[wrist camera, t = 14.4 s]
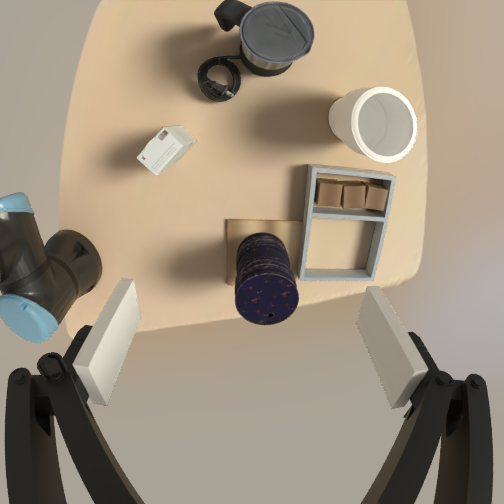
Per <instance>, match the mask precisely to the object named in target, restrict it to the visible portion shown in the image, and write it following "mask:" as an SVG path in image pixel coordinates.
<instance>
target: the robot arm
mask: <svg viewBox="0 0 504 504" xmlns="http://www.w3.org/2000/svg"><path fill="white" fill-rule="evenodd" d="M101 275H102V263H101V259H100V256H99V254H98V252H97V250H96V248H95V247H94V245H93V244H92V243H91V242H90V241H89V240H88V239H87V238H86V237H85V236H83V235H82V234H80V233H78V232H75V231H72V230H62V231H59V232H57V233H56V234H55V235H53V236H52V237H51V238H50V239H49V240H48V242H47V243H46V245H45V247H44V244H43V241H42V239H41V236H40V233H39V230H38V227H37V224H36V221H35V218H34V212H33V210H32V208H31V206H30V203H29V200H28V197H27V196H26V195H25V194H24V193H21V192H19V193H14V194H11V195H8V196H5V197H2V198H0V291H1V293H2V296H0V316H1V318H2V319H3V321H4V322H5V324H6V325H7V326H8V327H9V328H10V329H11V330H12V331H13V332H14V333H16V334H17V335H19V336H20V337H22V338H24V339H25V340H28V341H31V342H35V343H41V342H45V341H46V340H48V339H49V338H50V336H51V335H52V334H53V333H54V331H56V330H57V328H58V325H59V324H60V323H61V321H62V320H63V318H64V317H65V315H66V313H67V312H68V310H69V309H70V308H71V306H72V305H73V303H74V302H75V300H76V299H77V298H79V297H81V296H83V295H85V294H86V293H88V292H90V291H91V290H92V289H93V288H94V287H95V286H96V285H97V283H98V282H99V280H100V278H101ZM140 319H141V315H140V310H139V305H138V300H137V294H136V289H135V283H134V279H123V278H121V280H120V282H119V283H118V285H117V286H116V288H115V290H114V291H113V293H112V295H111V296H110V298H109V300H108V301H107V303H106V305H105V306H104V308H103V310H102V311H101V313H100V315H99V317H98V318H97V320H96V322H95V324H94V325H93V326H89V325H85V326H84V327H82V328H81V329H80V330H79V331H78V332H77V334H76V336H75V337H74V340H73V341H72V343H71V346H69V348H68V350H67V352H66V353H65V355H64V357H63V358H62V356H61V355H59V354H58V353H54V352H51V353H47V354H45V355H43V356H42V357H41V358H40V359H39V361H38V363H37V369H38V370H39V372H40V374H41V375H31V373H30V372H29V370H28V369H26V368H18V369H15V370H14V371H13V372H12V373H11V374H10V376H9V379H8V388H7V399H6V414H5V462H6V463H5V464H6V478H7V488H8V496H9V504H67V503H66V499H65V494H64V489H63V484H62V479H61V474H60V468H59V462H58V455H57V447H56V439H55V428H54V416H56V419H57V422H58V425H59V427H60V430H61V433H62V435H63V438H64V440H65V443H66V445H67V448H68V450H69V453H70V455H71V457H72V460H73V462H74V464H75V465H76V468H77V470H78V472H79V474H80V477H81V478H82V481H83V483H84V485H85V486H86V488H87V490H88V492H89V494H90V496H91V498H92V500H93V501H94V503H95V504H145V503H144V502H143V501H142V499H141V498H140V496H139V495H138V493H137V492H136V490H135V489H134V487H133V486H132V485H131V483H130V481H129V480H128V478H127V477H126V475H125V473H124V472H123V470H122V468H121V467H120V465H119V463H118V462H117V460H116V459H115V457H114V455H113V453H112V452H111V450H110V448H109V446H108V444H107V442H106V440H105V439H104V437H103V435H102V433H101V431H100V429H99V427H98V425H97V423H96V421H95V419H94V417H93V415H92V412H91V410H90V408H89V406H88V404H87V400H88V398H89V397H90V399H91V400H92V402H93V403H95V404H100V405H104V406H108V403H109V400H110V397H111V394H112V392H113V389H114V386H115V383H116V380H117V378H118V375H119V372H120V370H121V367H122V364H123V361H124V359H125V357H126V354H127V351H128V349H129V346H130V344H131V341H132V339H133V336H134V334H135V331H136V329H137V327H138V324H139V322H140ZM356 325H357V327H358V329H359V331H360V333H361V336H362V338H363V340H364V343H365V345H366V347H367V349H368V352H369V354H370V357H371V359H372V362H373V364H374V366H375V369H376V371H377V374H378V376H379V378H380V381H381V383H382V386H383V388H384V391H385V393H386V396H387V399H388V401H389V404H390V406H391V409H393V408H399V407H404V406H405V405H406V403H407V402H408V400H409V399H410V401H411V403H412V406H411V407H410V408H409V410H408V411H407V413H406V414H405V415H404V418H405V417H406V418H405V421H404V423H403V425H402V427H401V430H400V432H399V434H398V436H397V438H396V441H395V443H394V445H393V447H392V449H391V451H390V453H389V455H388V457H387V459H386V461H385V463H384V464H383V466H382V468H381V470H380V472H379V474H378V475H377V477H376V479H375V481H374V483H373V484H372V486H371V488H370V489H369V491H368V493H367V494H366V496H365V498H364V499H363V501H362V502H361V504H414V502H415V501H416V498H417V496H418V494H419V492H420V490H421V487H422V485H423V483H424V480H425V478H426V475H427V473H428V470H429V468H430V465H431V463H432V460H433V457H434V454H435V451H436V449H437V446H438V443H439V439H440V436H441V449H440V462H439V471H438V479H437V486H436V493H435V499H434V504H491V502H492V487H493V444H492V428H491V417H490V407H489V400H488V392H487V387H486V382H485V381H484V379H483V378H482V377H481V376H479V375H477V374H470V375H469V376H468V377H467V378H466V380H465V381H461V380H453V378H452V377H451V376H450V375H449V374H448V373H446V372H444V371H439V369H438V368H437V366H436V364H435V362H434V360H433V359H432V357H431V355H430V354H429V352H428V350H427V349H426V347H425V346H424V344H423V342H422V340H421V339H420V337H418V336H417V335H416V334H415V333H414V332H407V331H406V329H405V328H404V326H403V324H402V323H401V321H400V319H399V318H398V316H397V314H396V313H395V311H394V310H393V308H392V306H391V305H390V303H389V302H388V300H387V299H386V297H385V295H384V294H383V292H382V291H381V289H380V288H379V286H367V288H366V292H365V295H364V299H363V302H362V306H361V309H360V312H359V315H358V318H357V321H356Z"/></svg>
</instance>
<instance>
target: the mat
mask: <svg viewBox="0 0 504 504" xmlns="http://www.w3.org/2000/svg"><path fill="white" fill-rule="evenodd" d="M302 230H303V221H281V220H251V219H228V227H227V285H235V279H236V276H237V272H236V257H237V250H238V247H239V245H240V243H241V242H242V241H243V240H244V239H245V238H246V237H248V236H249V235H251V234H254V233H259V232H266V233H270V234H273V235H275V236H277V237H278V238H279V239H280V240H281V241H282V242H283V243H284V245H285V248H286V251H287V253H288V256H289V261H290V268H291V270H292V272H293V274H294V277H295V281H296V278H297V270H298V263H299V255H300V247H301V238H302Z"/></svg>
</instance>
